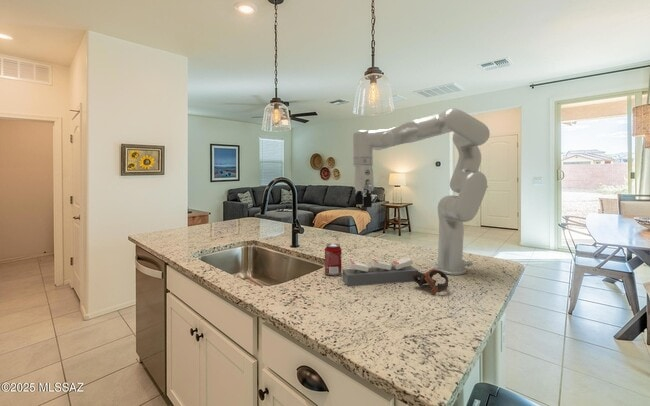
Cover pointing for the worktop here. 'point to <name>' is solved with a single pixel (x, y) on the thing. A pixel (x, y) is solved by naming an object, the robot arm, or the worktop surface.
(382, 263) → the rocker
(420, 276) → the brown looped band
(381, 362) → the worktop surface
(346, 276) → the power strip
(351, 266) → the rocker
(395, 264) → the rocker
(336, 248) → the soda can
